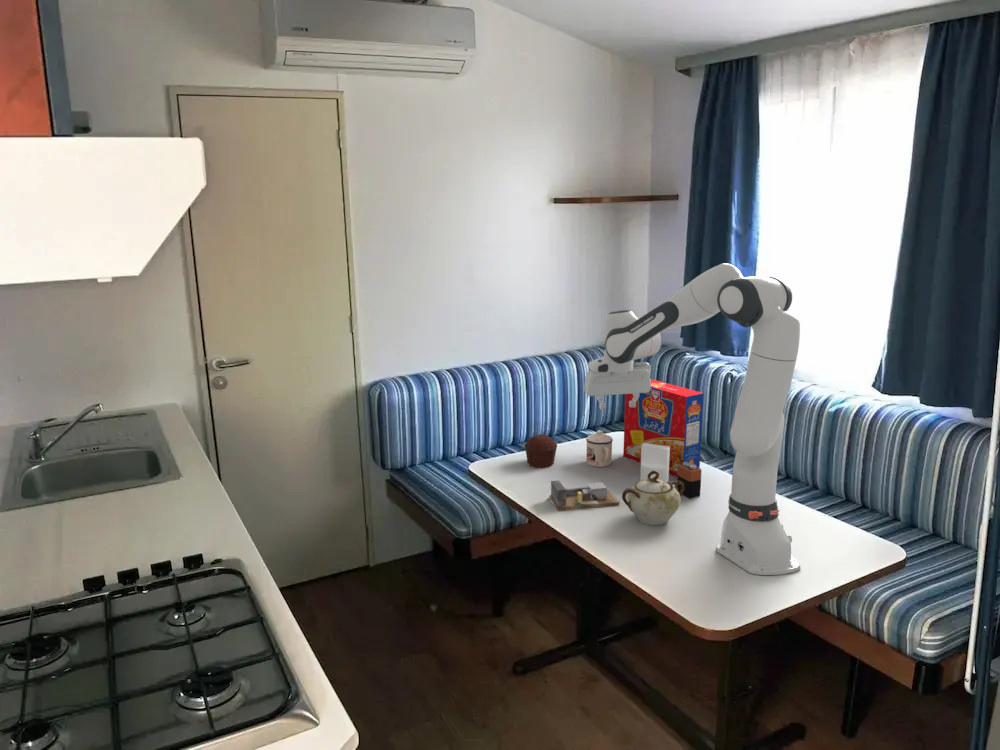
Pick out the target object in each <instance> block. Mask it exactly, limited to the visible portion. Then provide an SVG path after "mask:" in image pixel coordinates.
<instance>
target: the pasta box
mask: <svg viewBox="0 0 1000 750" xmlns="http://www.w3.org/2000/svg"><path fill="white" fill-rule="evenodd" d="M650 379H651V390H650V391H649V392H648V393H639V398H638V400H637V401H636V406H635V407H633V408H630V407H629V401H632V399H633V397H634V395H633V394H624V421H623V424H624V425H623V426H624V427H623V458H626V457H627V459H629V460H631V459H632V460H631V461H634V460H635V461H634V462H636V461H637V462H636V463H639V462H640V464H641V445H642V444H643V443H649V444H655V445H662V446H669V447H670V457H669V476H671V477H672V476H673V477H675V478H677V470H678V465H679V464H684V462H688V463H690V464H693V465H696V467H698V468H700V467H701V466H700V465H701V449H702V448H701V447H702V446H701V445H702V431H703V430H702V429H703V411H704V410H703V409H704V395H705V393H703V392H701V391H697V390H693V389H689V388H685V387H682V386H678V385H674V384H671V383H667V382H663V381H660V380H656V379H652V378H650ZM700 469H701V468H700Z"/></svg>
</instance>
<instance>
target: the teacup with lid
mask: <svg viewBox="0 0 1000 750" xmlns="http://www.w3.org/2000/svg"><path fill="white" fill-rule="evenodd" d="M613 440H614V439H613V437H612V436H610V435H608V434H606V433H603V430H600V429H599V430H598V429H597V430H596V432H595V433H593V434H589V435H588V436H587V437H586V458H585V459H586V464H587V465H589V466H590V467H598V468H602V467H608V466H610V465H611V464H612V457H613V455H612V454H613Z"/></svg>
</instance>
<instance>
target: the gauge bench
mask: <svg viewBox="0 0 1000 750" xmlns="http://www.w3.org/2000/svg"><path fill="white" fill-rule="evenodd" d="M584 489H587V486H586V487H585V486H584V487H574V488H573V487H572V488H566V487H565V486H564V485H563V483H562V482H561V481H560V480H550V494H549V495H548V496H549V500H550V501H551V503H552V504H553V506H554V507H555V509H556V510H557V511H569V510H580V509H582V510H583V509H593V508H605V507H615V506H617V507H618V506H619V505H620V502H619V500H618V499H616V496H614V495H613V494H612V493H611V491H610V490H609V489H607V499H601V500H590V499H589V497H588V496H587V495H584V496H583V495H582V503H578V502H577V492H581V493H582V490H584Z"/></svg>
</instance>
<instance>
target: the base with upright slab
mask: <svg viewBox="0 0 1000 750" xmlns="http://www.w3.org/2000/svg"><path fill="white" fill-rule="evenodd" d="M669 457H670V447H669V446H662V445H655V444H649V443H643V444H642V445H641V463H640V475H639V477H640V478H639V479H640V480H639V481H642V480H647V478H648V474H649V473H650V472H651V471H656V472H658V473H659V478H658V480H662V481H666V482H668V483H669V479H670V478H669V477H670V474H669ZM655 476H656V474H652V475H651V476H650V478H653V477H655Z"/></svg>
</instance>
